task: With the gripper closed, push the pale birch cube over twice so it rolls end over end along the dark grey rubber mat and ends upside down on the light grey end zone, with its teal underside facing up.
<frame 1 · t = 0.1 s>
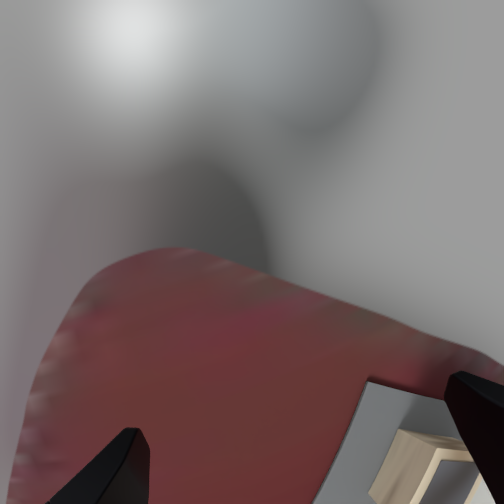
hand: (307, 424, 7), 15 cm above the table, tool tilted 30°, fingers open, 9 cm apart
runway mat: (458, 468, 18), on the table
birch cube: (412, 465, 19), resting on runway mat
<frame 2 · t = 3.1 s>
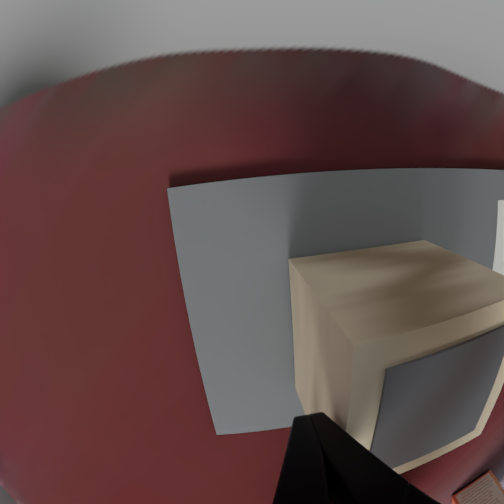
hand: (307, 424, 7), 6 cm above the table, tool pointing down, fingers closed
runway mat: (460, 289, 13), on the table
birch cube: (361, 317, 13), point 1 cm above the table, touching gripper, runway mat
cracker box: (466, 497, 23), on the table
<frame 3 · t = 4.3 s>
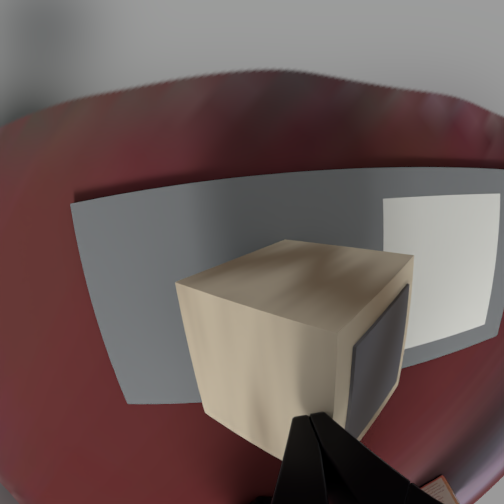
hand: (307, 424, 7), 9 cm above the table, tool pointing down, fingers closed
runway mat: (344, 288, 16), on the table
birch cube: (246, 325, 13), point 2 cm above the table, tilted 43°, touching gripper, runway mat
cracker box: (423, 500, 25), on the table
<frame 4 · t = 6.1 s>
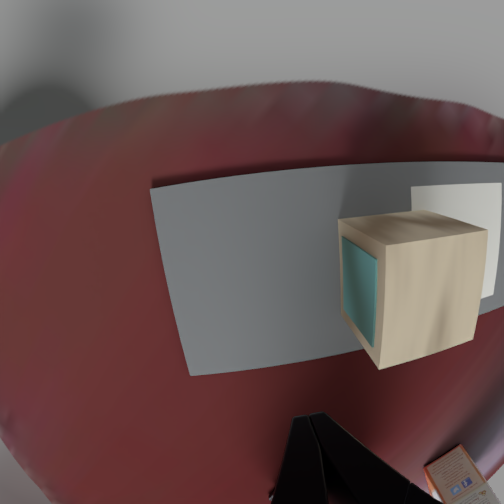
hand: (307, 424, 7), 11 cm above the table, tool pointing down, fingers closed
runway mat: (381, 260, 19), on the table
birch cube: (358, 288, 15), point 3 cm above the table, tilted 90°, touching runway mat
cracker box: (442, 473, 28), on the table
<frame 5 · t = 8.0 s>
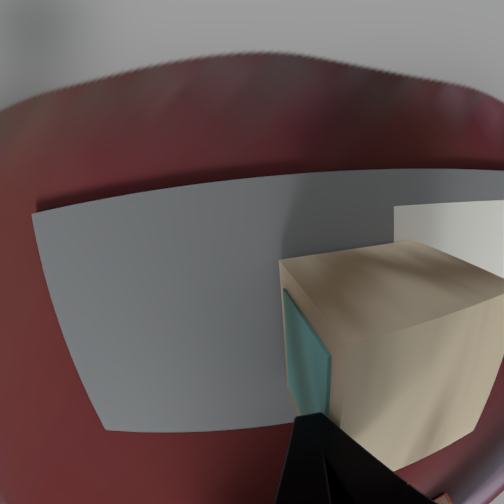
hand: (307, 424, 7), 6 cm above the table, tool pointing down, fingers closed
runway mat: (346, 310, 13), on the table
birch cube: (305, 374, 10), point 4 cm above the table, tilted 95°, touching gripper, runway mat
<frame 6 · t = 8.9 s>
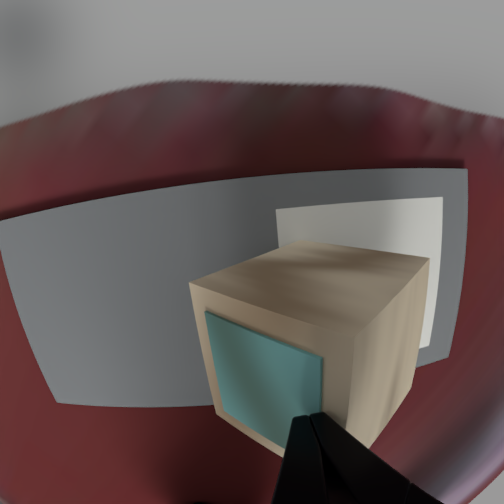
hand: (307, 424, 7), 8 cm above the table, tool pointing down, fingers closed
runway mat: (240, 304, 15), on the table
birch cube: (262, 391, 9), point 7 cm above the table, tilted 130°, touching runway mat
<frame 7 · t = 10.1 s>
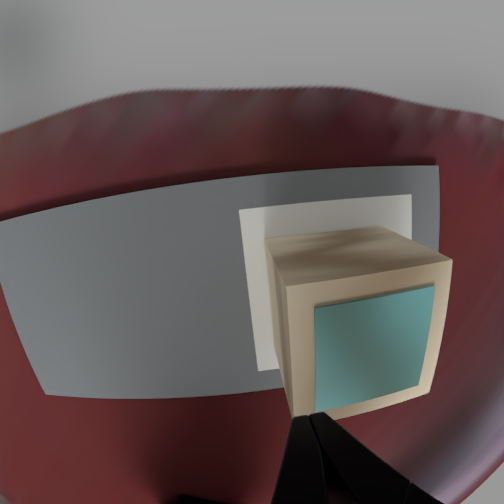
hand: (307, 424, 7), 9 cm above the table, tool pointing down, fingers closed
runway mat: (210, 301, 16), on the table
birch cube: (375, 352, 10), point 7 cm above the table, tilted 180°, touching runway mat
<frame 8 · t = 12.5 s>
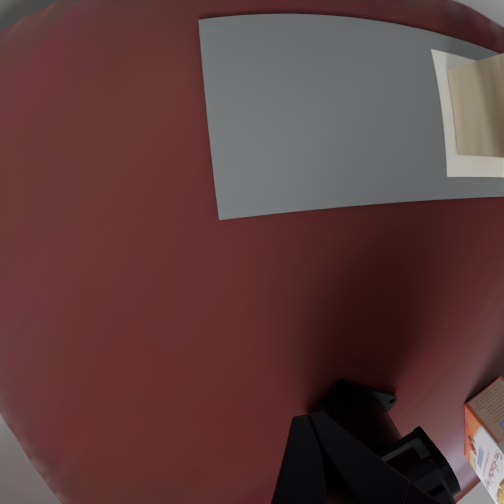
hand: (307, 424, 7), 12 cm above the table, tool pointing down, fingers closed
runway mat: (415, 108, 17), on the table
cracker box: (479, 419, 26), on the table
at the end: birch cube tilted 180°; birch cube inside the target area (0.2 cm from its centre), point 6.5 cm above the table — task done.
